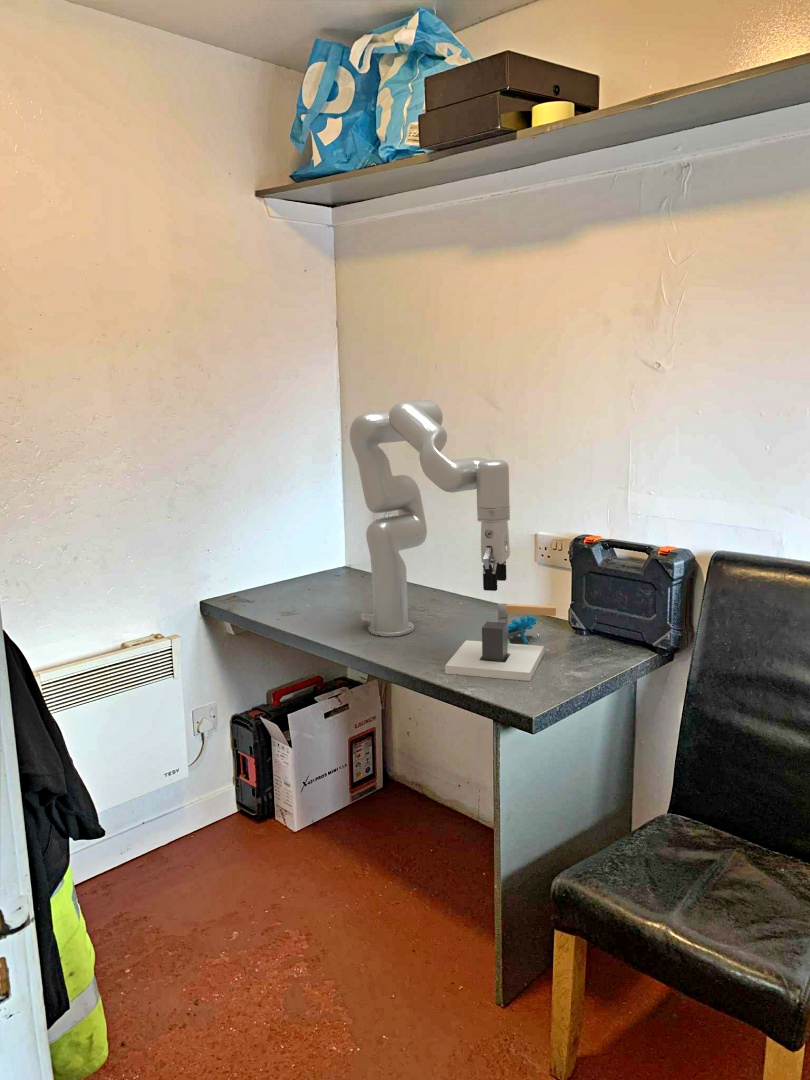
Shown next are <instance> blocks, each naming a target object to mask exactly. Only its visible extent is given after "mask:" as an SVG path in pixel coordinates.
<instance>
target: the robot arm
mask: <svg viewBox="0 0 810 1080" xmlns="http://www.w3.org/2000/svg"><path fill="white" fill-rule="evenodd" d="M442 423H443V412H442V409H441V408H440V406H439V405H438V404H437V403H436V402H434V401H432V400H428V399H421V400H420V399H419V400H406V401H399V402H398V403H396V404H395V405H393V406H392V407H391V408H390V410H378V411H370V412H365V413H361V414H359V415H358V416H357V417H355V418H354V420H352V423H351V424H350V429H349V442H350V447H351V449H352V452H353V455H354V457H355V460H356V463H357V467H358V472H359V477H360V483H361V488H362V492H363V497H364V502H365V504H366V508H367V509H368V511H370V512H371V513H375V514H381V513H382V514H383V513H388V512H389V513H391V512H395V511H396V512H397V513H398V515H393V516H391V515H390V516H386V517H385V516H384V517H381V518H378V519H375V520H374V521H372V522H371V523H370V524H369V525H368V527H367V528H366V532H365V536H366V537H365V538H366V543H367V547H368V551H369V556H370V557H369V558H370V564H371V566H370V568H371V584H372V585H371V587H372V588H371V589H372V610H373V611H372V613H363V612H362V613H360V621H361V622H362V623H369V625H368V632H369V631H370V632H371V633H370V632H369V633H370V634H372V633H373V634H372V635H374V634H375V635H374V636H378V635H380V637H400V636H406V635H407V634H410V633H412V632H413V631H414V630H415V625H414V623H412V622H411V621H409V612H408V611H409V610H408V609H409V608H408V581H407V577H408V576H407V565H406V562H405V561H404V559H403V557H402V556H401V554H400V551H404V550H408V549H413V548H416V547H420V546H421V545H423V543H425V541H426V539H427V535H428V531H427V529H428V528H427V521H426V516H425V512H424V505H423V501H422V496H421V492H420V488H419V486H418V484H417V483H416V480H414V478H413V477H412V476H409V475H406V474H399V475H393V472H392V470H391V464H390V460H389V458H388V456H387V454H386V453H385V452H384V449H382V448H381V447H380V446H379V445H380V444H389V443H398V442H405V441H406V442H407V443H408V444H409V445H410V446H411V447H412V448H413V449H415V450H416V451H417V452H418V453H419V462H420V464H419V465H420V466H421V469H422V472H423V474H424V476H426V477H427V478H428V480H430V481H431V483H433V484H434V485H435V486H436V487H437V488H439V489H440V490H442V491H444V492H446V493H450V494H452V493H453V494H454V493H460V492H465V491H473V490H476V510H477V511H476V513H477V515H476V516H477V522H481V523H480V556H481V562H482V563H483V565H482V567H483V568H482V585H483V587H482V589H483V591H487V592H488V591H490V592H491V591H493V592H496V591H497V590H498V581H499V582H505V581H507V560H508V559H509V558H510V554H511V548H510V535H509V522H508V521H510V520H511V514H510V513H511V512H510V510H511V507H510V470H509V469H510V467H509V463H508V462H507V461H505V460H502V459H487V458H483V457H468V458H467V457H466V458H460V459H459V458H458V459H452V460H449V458H447V457H446V456H444V455H443V454H442V453H441V451H442V450H444V447H445V446H446V444H447V441H448V440H447V439H448V433H447V431H446V428H444V427H443V426H442Z"/></svg>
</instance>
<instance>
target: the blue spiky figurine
mask: <svg viewBox="0 0 810 1080" xmlns="http://www.w3.org/2000/svg"><path fill="white" fill-rule="evenodd" d="M537 621H538V619H537V617H536V616H533V615H527V616H526V617H525V615H522V616H520V617H519V620H517V618H516V619H513V620H511V623H508V644H512V643H511V641H510V639H509V638H511V637H513V638H514V637H515V638H516V637H517V636H519V635H520V636H521V638H522V641H523V643H524V645H527V644H528V643H529V641H528V638H527V637H526V636H527V635H526V632H527V631H526V630H532V629H533V626H534V625H537Z"/></svg>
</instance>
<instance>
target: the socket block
mask: <svg viewBox="0 0 810 1080" xmlns="http://www.w3.org/2000/svg"><path fill="white" fill-rule="evenodd" d="M508 617H509V616H508ZM508 617H506V618H500V617H498V616H497V622H501V623H507V661H506V662H493V661H482V640H480V641H479V640H467V639H466V640H465V641H464V642H463V643H462V645H461V646H460V647H459V648H458V649H457V651H456V652H454V654H453V656H452V657H451V658H450V659H449V660H448V661H447V663H446V664H445V666H444V670H445V672H444V673H446V675H447V674H448V675H456V674H458V675H459V676H460V675H461V676H468V677H469V676H470V677H478V676H479V677H480V678H491V679H492V678H493V679H501V680H511V681H512V680H513V681H524V682H525V681H526V682H531V680H532V678H533V676H534V674H535V673H536V670H537V668H538V666H539V664H540V662H541V660H542V658H543V656H544V654H545V646H544V645H531V644H520V643H511V644H508V639H509V637H508V624H509V623H508V622H509V618H508Z"/></svg>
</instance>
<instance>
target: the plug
mask: <svg viewBox="0 0 810 1080" xmlns="http://www.w3.org/2000/svg"><path fill="white" fill-rule="evenodd" d="M481 641H482V661H493V662H506V661H507V623H501V622H498V621H486V622H485V623H484V624H483V626H481Z"/></svg>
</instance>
